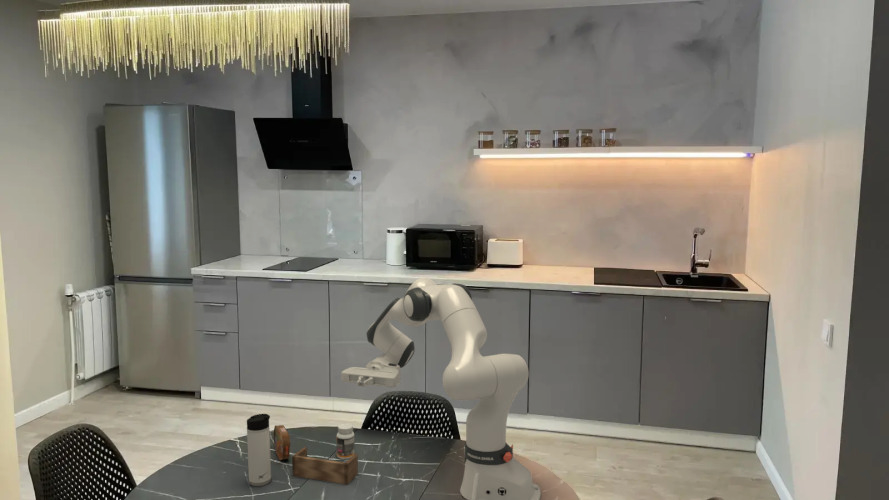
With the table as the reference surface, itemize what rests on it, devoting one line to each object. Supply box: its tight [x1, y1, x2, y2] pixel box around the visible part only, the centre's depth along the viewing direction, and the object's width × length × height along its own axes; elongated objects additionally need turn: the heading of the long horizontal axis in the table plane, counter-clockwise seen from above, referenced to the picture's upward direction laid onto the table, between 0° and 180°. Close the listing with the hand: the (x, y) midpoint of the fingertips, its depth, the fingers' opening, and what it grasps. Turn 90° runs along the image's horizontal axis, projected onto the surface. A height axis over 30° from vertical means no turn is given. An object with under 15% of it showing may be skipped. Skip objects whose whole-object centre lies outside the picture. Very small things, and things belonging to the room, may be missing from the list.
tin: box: [273, 424, 291, 461], centre depth 203 cm, size 15×3×8 cm, turn 25°
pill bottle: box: [335, 422, 356, 460], centre depth 202 cm, size 6×6×10 cm
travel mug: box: [246, 413, 272, 487], centre depth 184 cm, size 6×7×20 cm
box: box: [291, 446, 359, 486], centre depth 189 cm, size 18×7×6 cm, turn 72°
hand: (361, 384), depth 212 cm, fingers closed
